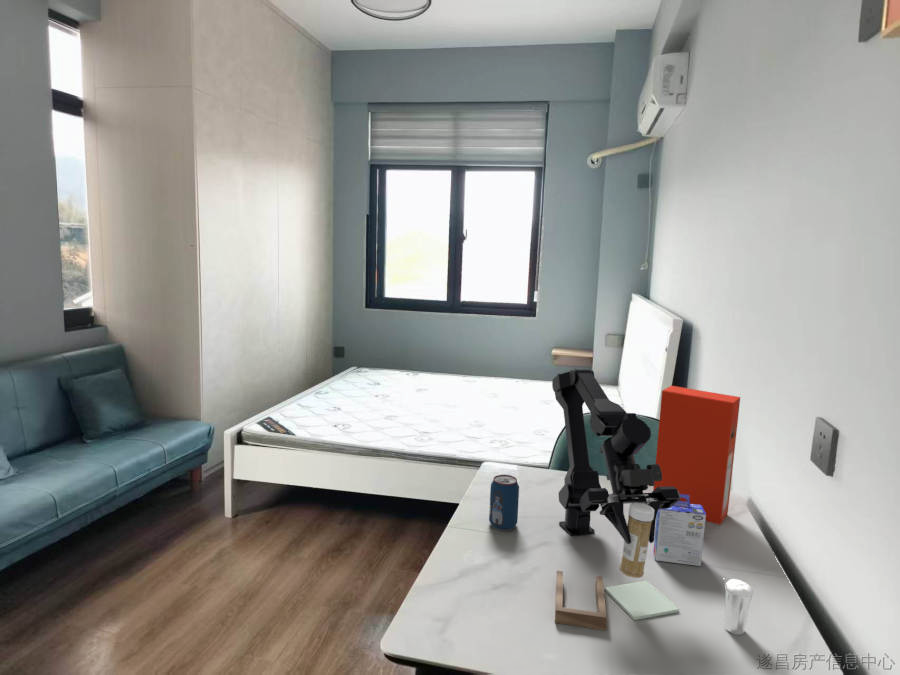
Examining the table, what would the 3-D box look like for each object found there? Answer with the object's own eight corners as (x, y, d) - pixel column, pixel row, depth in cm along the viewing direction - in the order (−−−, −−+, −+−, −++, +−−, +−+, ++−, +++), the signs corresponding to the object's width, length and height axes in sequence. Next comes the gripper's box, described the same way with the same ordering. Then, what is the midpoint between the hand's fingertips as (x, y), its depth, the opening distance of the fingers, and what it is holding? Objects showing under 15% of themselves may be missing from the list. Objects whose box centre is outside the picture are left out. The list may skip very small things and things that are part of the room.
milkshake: (711, 621, 110) (716, 571, 108) (738, 621, 110) (744, 571, 109) (724, 637, 105) (730, 586, 104) (753, 637, 106) (759, 585, 104)
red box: (719, 525, 149) (733, 402, 144) (651, 505, 160) (662, 390, 155) (727, 515, 156) (740, 396, 151) (661, 496, 166) (671, 385, 161)
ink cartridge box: (697, 554, 134) (703, 494, 132) (702, 567, 129) (709, 504, 127) (651, 549, 136) (657, 489, 134) (655, 561, 131) (660, 499, 129)
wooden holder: (556, 581, 121) (557, 570, 121) (601, 588, 120) (602, 576, 119) (554, 622, 108) (555, 610, 108) (605, 630, 106) (606, 617, 106)
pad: (604, 590, 119) (604, 587, 119) (646, 583, 122) (646, 580, 122) (634, 620, 110) (634, 617, 109) (678, 611, 113) (679, 608, 113)
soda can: (515, 519, 149) (518, 474, 147) (518, 532, 142) (520, 485, 140) (488, 518, 149) (490, 473, 147) (489, 531, 142) (491, 484, 140)
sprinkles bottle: (646, 579, 112) (658, 513, 110) (623, 577, 112) (634, 511, 110) (638, 566, 117) (649, 502, 115) (615, 564, 116) (626, 500, 114)
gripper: (589, 449, 113) (608, 531, 104) (681, 447, 116) (706, 527, 107) (572, 472, 122) (588, 549, 113) (657, 470, 125) (679, 545, 116)
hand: (640, 542), depth 112 cm, fingers closed on sprinkles bottle, 4 cm apart
